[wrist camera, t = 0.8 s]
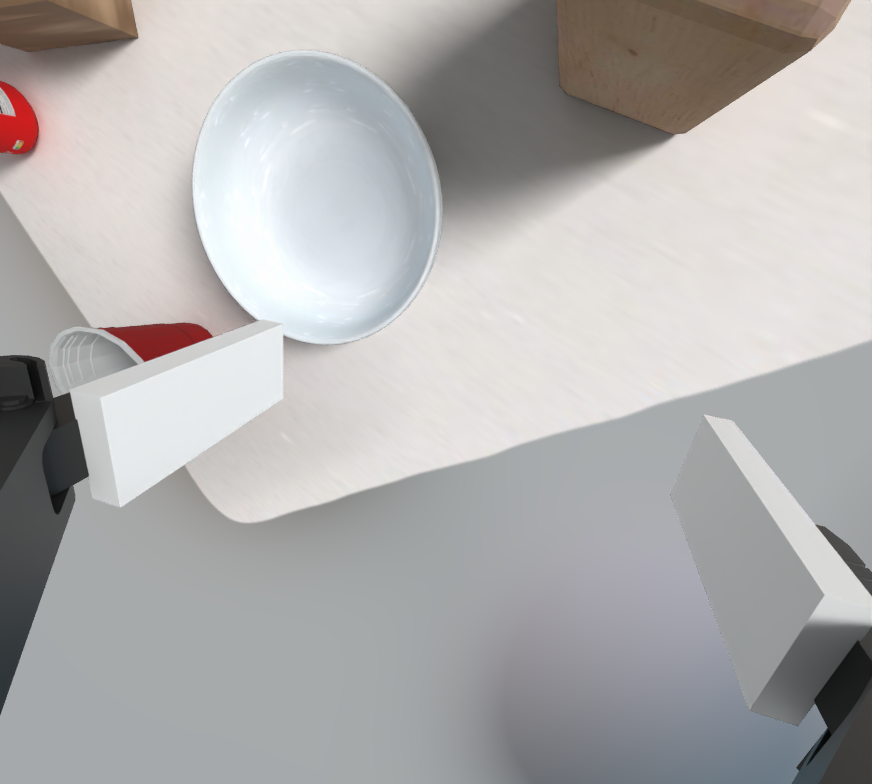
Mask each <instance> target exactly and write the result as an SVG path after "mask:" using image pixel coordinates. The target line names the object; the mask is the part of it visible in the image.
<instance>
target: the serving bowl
mask: <svg viewBox="0 0 872 784" xmlns="http://www.w3.org/2000/svg"><path fill="white" fill-rule="evenodd" d="M192 196H193V207H194V214H195V219H196V224H197V228H198V231H199V235H200V238H201V241H202V244H203V247H204V250H205V252H206V254H207V256H208V259H209V261H210V263H211V265H212V267H213V268H214V270H215V272H216V274H217V275H218V277H219V279H220V280H221V282H222V283H223V285H224V286H225V288H226V289H227V290H228V292H229V293H230V294H231V296H232V297H233V298H234V299H235V300H236V301H237V302H238V303H239V305H240V306H241V307H242V308H243V309H244V310H245V311H247V312H248V313H249V314H250V315H251V316H252V317H254V318H255V319H256V320H258V321H260V320H262V319H263V320H268V321H273V322H277V323H282V324H283V336H285V337H288V338H291V339H294V340H297V341H301V342H305V343H310V344H319V345H338V344H345V343H350V342H353V341H357V340H360V339H363V338H366V337H368V336H370V335H372V334H374V333H376V332H378V331H380V330H382V329H383V328H385V327H386V326H387V325H389V324H390V323H391V322H393V321H394V320H395V319H396V318H397V317H399V316H400V315H401V314H402V313H403V312H404V311H405V310H406V308H407V307H408V306H409V305H410V304H411V303H412V301H413V300H414V299H415V297H416V296H417V294H418V293H419V291H420V290H421V289H422V287H423V285H424V283H425V282H426V280H427V278H428V276H429V274H430V271H431V269H432V266H433V264H434V261H435V258H436V255H437V251H438V247H439V242H440V237H441V230H442V215H443V204H442V192H441V184H440V179H439V174H438V170H437V166H436V162H435V159H434V156H433V153H432V151H431V148H430V146H429V144H428V141H427V139H426V137H425V135H424V133H423V131H422V129H421V127H420V125H419V124H418V122H417V120H416V119H415V117H414V115H413V114H412V112H411V111H410V110H409V108H408V107H407V105H406V104H405V103H404V102H403V100H402V99H401V98H400V97H399V96H398V95H397V93H396V92H395V91H394V90H393V89H392V88H391V87H390V86H389V85H388V84H387V83H385V82H384V81H383V80H382V79H380V78H379V77H378V76H377V75H375V74H374V73H373V72H371V71H370V70H368V69H367V68H365V67H363V66H361V65H359V64H358V63H356V62H354V61H351V60H349V59H347V58H344V57H341V56H339V55H335V54H332V53H328V52H322V51H315V50H291V51H285V52H280V53H276V54H273V55H270V56H267V57H265V58H262V59H260V60H258V61H256V62H254V63H252V64H251V65H249V66H248V67H246V68H245V69H244V70H242V71H241V72H240V73H238V74H237V75H236V76H235V77H234V78H233V79H232V80H231V81H230V82H229V83H228V84H227V85H226V86H225V87H224V89H223V90H222V91H221V92H220V94H219V95H218V96H217V98H216V99H215V101H214V102H213V104H212V106H211V108H210V110H209V111H208V113H207V116H206V118H205V120H204V122H203V125H202V128H201V130H200V133H199V137H198V140H197V144H196V149H195V154H194V160H193V171H192Z"/></svg>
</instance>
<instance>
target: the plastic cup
mask: <svg viewBox="0 0 872 784" xmlns="http://www.w3.org/2000/svg"><path fill="white" fill-rule="evenodd" d="M210 338H213V337H212V335H211V334H210V333H209V332H208V331H207V330H206V329H204V328H203V327H201V326H199V325H197V324H191V323H175V324H152V325H141V326H129V327H118V328H115V327H109V328H90V327H84V326H76V327H73V328H70V329H67V330H64V331H62V332H59V334H58V335H57V337H56V338H55V340H54V341H53V343H52V344H51V346H50V357H49V367H50V370H51V373H52V376H53V378H54V382H55V385H56V387H57V389H58V390H59V392H60V393H61V395H63V394H66V393H69V392H70V389H73V388H75V387H78V386H81V385H84V384H86V383H89V382H92V381H95V380H97V379H100V378H103V377H106V376H108V375H111V374H114V373H117V372H119V371H122V370H125V369H128V368H130V367H133V366H136V365H139V364H141V363H144V362H147V361H150V360H152V359H155V358H158V357H161V356H163V355H166V354H169V353H172V352H174V351H177V350H180V349H183V348H185V347H188V346H191V345H194V344H196V343H199V342H202V341H205V340H207V339H210Z"/></svg>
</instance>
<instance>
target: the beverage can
mask: <svg viewBox="0 0 872 784" xmlns="http://www.w3.org/2000/svg"><path fill="white" fill-rule="evenodd" d="M37 137H38V122H37V118H36V115H35V113H34V111H33V109H32V107H31V106H30V104H29V103H28V102H27V100H26V99H25V98H24V96H23V95H22V94H21V93H20V92H19V91H18V90H17V89H15V88H14V87H13V86H11V85H9V84H7V83H5V82H2V81H0V153H8V154H23V153H26V152H27V151H29V150H30V149H31V148H32V147H33V145H34V143H35V141H36V140H37Z"/></svg>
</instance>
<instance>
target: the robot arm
mask: <svg viewBox="0 0 872 784" xmlns="http://www.w3.org/2000/svg"><path fill="white" fill-rule="evenodd" d="M282 399H283V324H282V323H277V322H273V321H268V320H263V319H262V320H260V321H257V322H254V323H251V324H249V325H246V326H243V327H240V328H238V329H235V330H232V331H229V332H227V333H224V334H221V335H218V336H216V337H213V338H210V339H207V340H205V341H202V342H199V343H196V344H194V345H191V346H188V347H185V348H183V349H180V350H177V351H174V352H172V353H169V354H166V355H163V356H161V357H158V358H155V359H152V360H150V361H147V362H144V363H141V364H139V365H136V366H133V367H130V368H128V369H125V370H122V371H119V372H117V373H114V374H111V375H108V376H106V377H103V378H100V379H97V380H95V381H92V382H89V383H86V384H84V385H81V386H78V387H75V388H73V389H70V392H69V393H66V394H63V395H61V396H58V397H55V398H53V395H52V391H51V386H50V382H49V378H48V373H47V369H46V365H45V361H44V360H42V359H40V358H38V357H32V356H22V355H21V356H20V355H10V356H0V714H1V711H2V709H3V706H4V703H5V700H6V697H7V694H8V691H9V688H10V686H11V683H12V680H13V677H14V674H15V671H16V668H17V666H18V663H19V660H20V657H21V654H22V651H23V648H24V645H25V642H26V640H27V637H28V634H29V631H30V628H31V625H32V622H33V620H34V617H35V614H36V611H37V608H38V605H39V602H40V600H41V597H42V594H43V591H44V588H45V585H46V582H47V579H48V576H49V574H50V571H51V568H52V565H53V562H54V560H55V556H56V554H57V551H58V548H59V545H60V542H61V540H62V536H63V534H64V531H65V528H66V525H67V522H68V519H69V517H70V514H71V511H72V508H73V505H74V502H75V492H74V487H73V485H74V484H76V483H77V482H79V481H81V480H83V479H85V478H86V477H88V480H89V484H90V489H91V493H92V498H93V499H95V500H98V501H101V502H104V503H107V504H110V505H113V506H116V507H119V508H120V507H122V506H124V505H125V504H127V503H128V502H130V501H131V500H133V499H134V498H135V497H137V496H138V495H140V494H141V493H143V492H144V491H146V490H147V489H149V488H150V487H152V486H153V485H155V484H156V483H158V482H159V481H161V480H162V479H164V478H165V477H167V476H168V475H170V474H171V473H173V472H174V471H176V470H177V469H179V468H180V467H182V466H183V465H185V464H186V463H188V462H189V461H191V460H192V459H194V458H195V457H197V456H198V455H200V454H201V453H203V452H204V451H206V450H207V449H209V448H210V447H212V446H213V445H215V444H216V443H218V442H219V441H221V440H222V439H223V438H225V437H226V436H228V435H229V434H231V433H232V432H234V431H235V430H237V429H238V428H240V427H241V426H243V425H244V424H246V423H247V422H249V421H250V420H252V419H253V418H255V417H256V416H258V415H259V414H261V413H262V412H264V411H265V410H267V409H268V408H270V407H271V406H273V405H274V404H276V403H277V402H279V401H280V400H282ZM670 496H671V499H672V501H673V504H674V507H675V510H676V512H677V515H678V518H679V521H680V523H681V526H682V528H683V532H684V534H685V537H686V540H687V542H688V545H689V548H690V550H691V553H692V556H693V559H694V562H695V564H696V567H697V570H698V573H699V575H700V578H701V581H702V583H703V586H704V589H705V592H706V594H707V597H708V600H709V602H710V605H711V608H712V611H713V613H714V616H715V619H716V622H717V624H718V627H719V630H720V633H721V635H722V638H723V641H724V643H725V646H726V649H727V652H728V654H729V657H730V660H731V662H732V665H733V668H734V671H735V674H736V676H737V679H738V682H739V684H740V687H741V690H742V692H743V695H744V698H745V701H746V703H747V706H748V709H749V711H752V712H755V713H758V714H761V715H764V716H767V717H771V718H774V719H777V720H780V721H783V722H786V723H789V724H792V725H795V726H798V725H799V724H800V723H801V721H802V720H803V719H804V717H805V716H806V714H807V713H808V712H809V711H810V709H811V708H812V706H813V705H814V704H816V706H817V707H818V709H819V711H820V713H821V715H822V717H823V719H824V721H825V723H826V725H827V727H828V728H827V729H826V731H825V732H824V733H823V734H822V736H821V737H820V738H819V739H818V741H817V742H816V743H815V745H814V746H813V747H812V748H811V750H810V751H809V752H808V753H807V755H806V756H805V757H804V759H803V760H802V761H801V762H800V764H799V765H798V766H797V769H798V770H799V772H798V774H797V776H796V777H795V779H794V781H793V782H792V784H872V572H871V571H870V570H869V569H868V568H865V564H864V563H863V561H862V560H861V559H860V558H859V557H858V555H857V554H856V553H855V552H854V551H853V550H852V548H851V547H850V546H849V545H848V544H846V543H845V542H844V541H843V540H841V539H840V538H839V537H837V536H836V535H835V534H833V533H832V532H831V531H829V530H828V529H827V528H825V527H823V526H819V525H815V524H814V523H813V521H812V520H811V519H810V518H809V516H808V515H807V514H806V513H805V512H804V510H803V509H802V508H801V507H800V505H799V504H798V503H797V501H796V500H795V499H794V497H793V496H792V495H791V494H790V492H789V491H788V490H787V489H786V488H785V486H784V485H783V484H782V482H781V481H780V480H779V479H778V477H777V476H776V475H775V473H773V471H772V470H771V469H770V467H769V466H768V465H767V463H766V462H765V461H764V460H763V458H762V457H761V456H760V454H759V453H758V452H757V451H756V449H755V448H754V447H753V446H752V445H751V444H750V442H749V441H748V439H747V438H746V437H745V436H744V434H743V433H742V432H741V430H740V429H739V428H738V427H737V426H736V424H735V423H734V422H733V421H731V420H726V419H722V418H716V417H712V416H708V415H703V417H702V419H701V422H700V424H699V427H698V429H697V432H696V434H695V436H694V438H693V441H692V443H691V446H690V448H689V451H688V453H687V455H686V458H685V460H684V463H683V465H682V467H681V470H680V472H679V475H678V477H677V480H676V482H675V484H674V487H673V489H672V492H671V494H670Z"/></svg>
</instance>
